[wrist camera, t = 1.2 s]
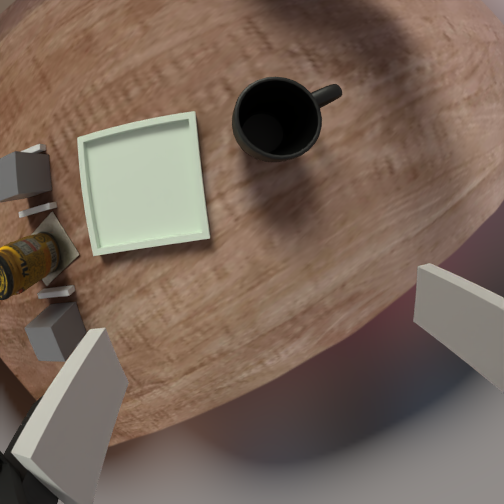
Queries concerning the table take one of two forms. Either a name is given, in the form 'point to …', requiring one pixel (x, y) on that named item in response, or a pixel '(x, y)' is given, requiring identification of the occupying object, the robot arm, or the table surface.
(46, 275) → the condiment
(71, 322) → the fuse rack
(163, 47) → the table surface
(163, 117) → the tray
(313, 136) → the mug
